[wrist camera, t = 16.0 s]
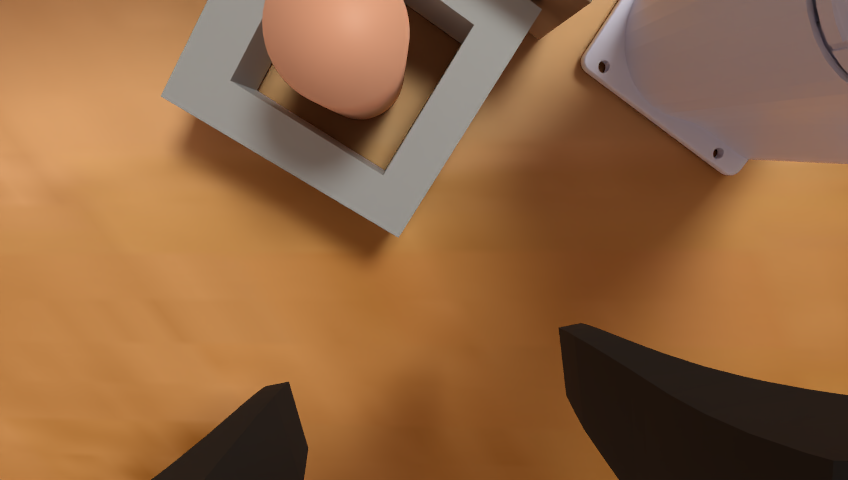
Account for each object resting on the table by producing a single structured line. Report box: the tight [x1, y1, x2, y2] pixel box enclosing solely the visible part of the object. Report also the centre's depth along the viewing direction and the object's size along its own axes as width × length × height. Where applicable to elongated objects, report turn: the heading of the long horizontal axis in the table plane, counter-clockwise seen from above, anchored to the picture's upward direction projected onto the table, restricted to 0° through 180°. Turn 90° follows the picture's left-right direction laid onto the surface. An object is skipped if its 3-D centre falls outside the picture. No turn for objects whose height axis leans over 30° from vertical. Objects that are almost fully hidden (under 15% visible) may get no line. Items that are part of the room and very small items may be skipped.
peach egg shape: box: [262, 0, 410, 119], centre depth 15 cm, size 4×4×7 cm
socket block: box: [161, 0, 542, 238], centre depth 17 cm, size 10×10×3 cm
